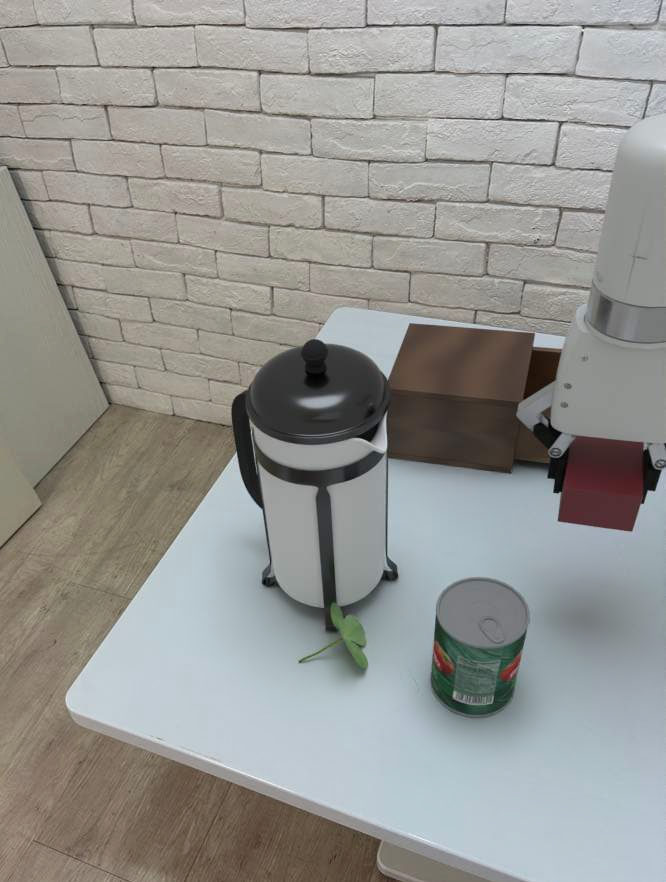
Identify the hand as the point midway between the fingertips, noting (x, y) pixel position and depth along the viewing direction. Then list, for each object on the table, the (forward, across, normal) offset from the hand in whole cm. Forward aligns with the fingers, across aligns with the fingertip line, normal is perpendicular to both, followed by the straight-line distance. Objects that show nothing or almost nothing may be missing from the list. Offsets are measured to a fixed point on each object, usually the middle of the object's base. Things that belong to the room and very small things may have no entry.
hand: (598, 486), depth 71 cm
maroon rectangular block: (+1, 0, 0) cm, 1 cm away
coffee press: (+16, +26, +2) cm, 31 cm away
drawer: (+16, +3, -27) cm, 31 cm away
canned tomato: (+16, +8, +12) cm, 22 cm away
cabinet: (+16, +16, -27) cm, 35 cm away
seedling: (+16, +22, +11) cm, 29 cm away
